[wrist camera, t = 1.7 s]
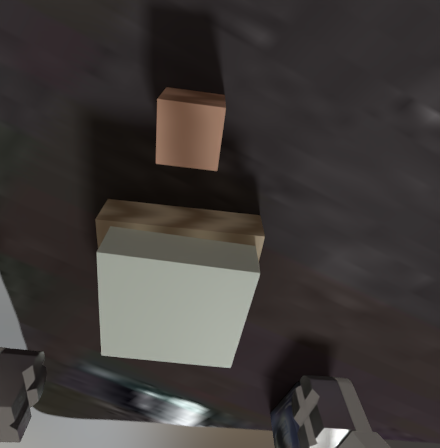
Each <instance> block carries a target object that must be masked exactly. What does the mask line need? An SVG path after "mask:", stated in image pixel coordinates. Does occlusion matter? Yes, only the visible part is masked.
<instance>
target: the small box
mask: <svg viewBox="0 0 440 448" xmlns="http://www.w3.org/2000/svg"><path fill="white" fill-rule="evenodd" d="M299 386H301V383H299V382H297V383H296V384H295V385H294V387H293V388H292V389H291V390H290V391H289V392H288V394H287V395H286V396H285V397H284V398H283V399H282V401H281V402H280V403H279V404H278V405H277V406H276V407H275V409H274V410H273V411H272V412H271V413H270V414H271V422H272V430H273V438H274V445H275V448H300V444H299V440H298V435H297V432H298V430H299V427H300V426H299V424H298V423H297V422H296V421H295V419H294V417H293V413H292V405H291V402H292V394H293V392H294V390H295V388H297V387H299Z"/></svg>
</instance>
